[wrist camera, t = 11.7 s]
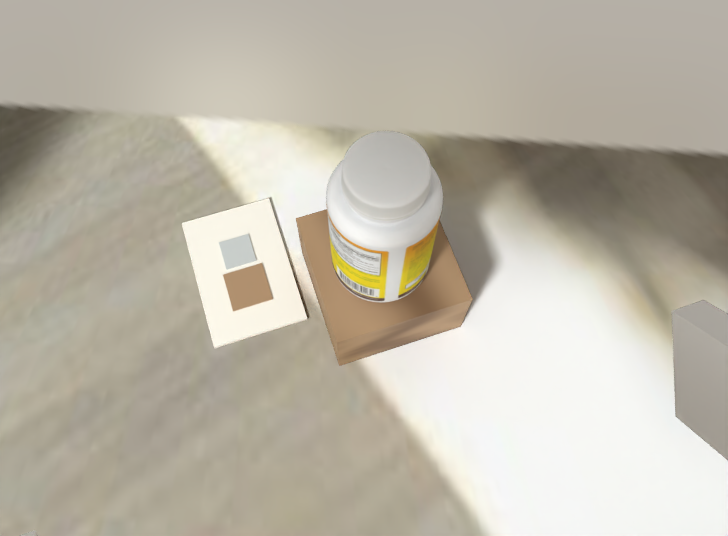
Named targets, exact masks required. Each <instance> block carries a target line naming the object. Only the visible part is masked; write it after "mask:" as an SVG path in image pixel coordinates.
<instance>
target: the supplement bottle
mask: <svg viewBox="0 0 728 536" xmlns="http://www.w3.org/2000/svg"><path fill="white" fill-rule="evenodd" d="M326 205H327V214H328V224H329V236H330V245H331V255H332V264H333V267H334V271H335V273H336V275H337V277H338V279H339V281H340V282H341V284H342V285H343V286H344V287H345V288H346V289H347V290H348V291H349V292H351V293H352V294H354V295H355V296H357V297H359V298H361V299H364V300H367V301H371V302H391V301H395V300H398V299H401V298H403V297H405V296H407V295H408V294H410V293H411V292H413V291H414V290H415V289H416V288H417V287H418V286H419V285H420V283H421V282H422V281H423V279H424V277H425V275H426V273H427V270H428V267H429V262H430V259H431V254H432V250H433V245H434V241H435V236H436V232H437V228H438V223H439V219H440V215H441V211H442V206H443V190H442V185H441V182H440V179H439V177H438V175H437V173H436V171H435V170H434V168H433V167H432V166H431V164H430V160H429V157H428V155H427V153H426V151H425V150H424V149H423V147H422V146H421V145H420V144H419V143H418V142H417V141H415V140H414V139H412V138H411V137H409V136H407V135H405V134H402V133H399V132H394V131H377V132H373V133H370V134H367V135H365V136H363V137H361V138H359V139H358V140H357V141H355V142H354V143H353V144H352V145H351V146H350V148H349V149H348V151H347V152H346V154H345V157H344V159H343V160H342V161H341V162H340V163H339V164H338V165H337V167H336V168H335V170H334V171H333V173H332V175H331V177H330V180H329V182H328V186H327V192H326Z"/></svg>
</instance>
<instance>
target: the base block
mask: <svg viewBox="0 0 728 536" xmlns="http://www.w3.org/2000/svg"><path fill="white" fill-rule="evenodd" d="M296 222H297V227H298V232H299V238H300V243H301V248H302V253H303V256H304V259H305V262H306V265H307V268H308V271H309V274H310V278H311V281H312V284H313V287H314V290H315V293H316V296H317V299H318V302H319V305H320V308H321V311H322V314H323V317H324V320H325V323H326V326H327V329H328V332H329V335H330V338H331V341H332V344H333V347H334V350H335V354H336V357H337V360H338V363H339V366H340V365H343V364H347V363H350V362H353V361H356V360H359V359H362V358H365V357H368V356H371V355H374V354H377V353H380V352H384V351H387V350H390V349H393V348H396V347H399V346H402V345H405V344H408V343H411V342H414V341H417V340H421V339H424V338H427V337H430V336H433V335H436V334H439V333H442V332H445V331H448V330H451V329H454V328H457V327H461V325H462V322H463V320H464V318H465V315H466V313H467V311H468V309H469V306H470V304H471V302H472V300H473V299H472V296H471V294H470V292H469V289H468V287H467V285H466V282H465V280H464V277H463V275H462V273H461V270H460V268H459V265H458V263H457V261H456V258H455V256H454V254H453V251H452V249H451V246H450V244H449V242H448V239H447V237H446V235H445V232H444V230H443V227H442V225H441V223H440V220H439V223H438V228H437V232H436V236H435V241H434V245H433V250H432V254H431V259H430V262H429V267H428V270H427V273H426V275H425V277H424V279H423V281H422V282H421V283H420V285H419V286H418V287H417V288H416V289H415V290H414V291H413V292H411V293H410V294H408V295H407V296H405V297H403V298H401V299H398V300H395V301H391V302H371V301H367V300H364V299H361V298H359V297H357V296H355V295H354V294H352V293H351V292H349V291H348V290H347V289H346V288H345V287H344V286H343V285H342V284H341V282H340V281H339V279H338V277H337V275H336V273H335V271H334V267H333V264H332V255H331V245H330V236H329V224H328V214H327V209H326V210H323V211H320V212H316V213H313V214H309V215H306V216H302V217H299V218H296Z"/></svg>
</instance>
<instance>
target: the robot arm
mask: <svg viewBox="0 0 728 536" xmlns="http://www.w3.org/2000/svg"><path fill="white" fill-rule="evenodd" d="M672 334H673V361H674V387H675V414H676V417H677V418H678V419H679V420H680V421H682V422H683V423H684V424H685V425H686V426H688V427H689V428H690V429H691V430H692V431H693V432H695V433H696V434H697V435H698V436H699V437H701V438H702V439H703V440H704V441H705V442H707V443H708V444H709V445H710V446H711V447H713V448H714V449H715V450H716V451H717V452H718V453H720V454H721V455H722V456H723V457H724V458H726V459H727V460H728V314H727V313H726V312H724V311H722V310H720V309H719V308H717V307H715V306H713V305H712V304H710V303H708V302H706V301H705V300H702V301H699V302H696V303H693V304H690V305H688V306H685V307H682V308H679V309H676V310H673V311H672ZM20 536H38V535H37V533H36V531H35V530H34V531H31V532H28V533H26V534H23V535H20Z"/></svg>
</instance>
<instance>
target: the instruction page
mask: <svg viewBox="0 0 728 536" xmlns="http://www.w3.org/2000/svg"><path fill="white" fill-rule="evenodd" d="M182 226H183V230H184V234H185V238H186V241H187V245H188V249H189V253H190V257H191V261H192V264H193V268H194V272H195V276H196V280H197V284H198V287H199V291H200V295H201V299H202V303H203V307H204V311H205V314H206V318H207V322H208V326H209V330H210V334H211V337H212V341H213V345H214V348H217V347H221V346H224V345H227V344H230V343H233V342H237V341H240V340H243V339H246V338H249V337H253V336H256V335H259V334H262V333H265V332H268V331H272V330H275V329H278V328H281V327H284V326H288V325H291V324H294V323H297V322H300V321H304V320H307V316H306V313H305V309H304V306H303V303H302V300H301V297H300V294H299V291H298V288H297V284H296V281H295V278H294V275H293V272H292V269H291V266H290V262H289V259H288V256H287V253H286V250H285V247H284V244H283V241H282V237H281V234H280V231H279V228H278V225H277V222H276V219H275V216H274V212H273V209H272V206H271V203H270V200H269V198H267V199H264V200H261V201H257V202H254V203H250V204H247V205H243V206H240V207H236V208H233V209H229V210H226V211H222V212H219V213H215V214H212V215H208V216H205V217H202V218H198V219H195V220H191V221H188V222H184V223H182Z"/></svg>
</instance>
